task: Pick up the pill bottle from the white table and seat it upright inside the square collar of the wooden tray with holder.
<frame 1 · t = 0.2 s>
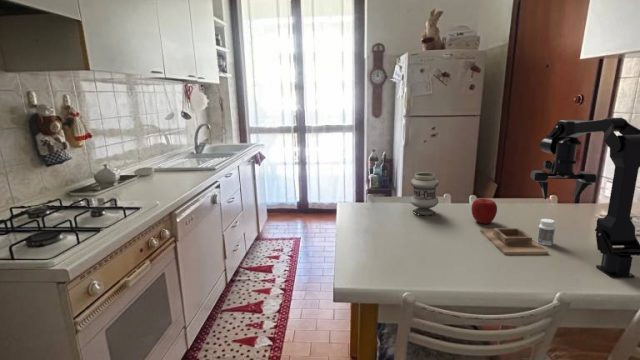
hand: (559, 199, 125), 14 cm above the table, tool pointing down, fingers open, 9 cm apart
pill bottle: (544, 243, 123), on the table
apple: (482, 222, 144), on the table
apothecary jar: (423, 213, 158), on the table
wooden tray with holder: (511, 242, 124), on the table
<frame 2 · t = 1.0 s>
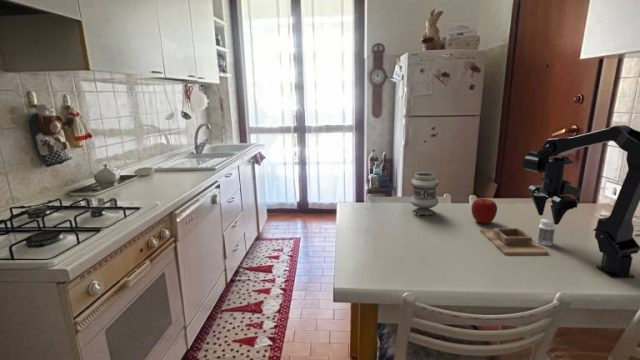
hand: (548, 219, 121), 9 cm above the table, tool pointing down, fingers open, 9 cm apart
nothing on the table moved.
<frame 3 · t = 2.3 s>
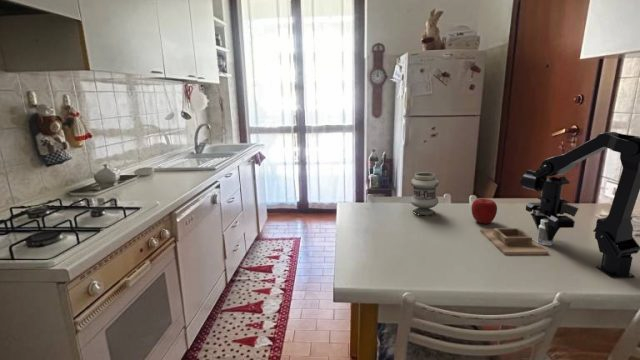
hand: (545, 237, 122), 2 cm above the table, tool pointing down, fingers closed on pill bottle, 5 cm apart
pill bottle: (544, 243, 123), on the table, touching gripper
everything else where it was.
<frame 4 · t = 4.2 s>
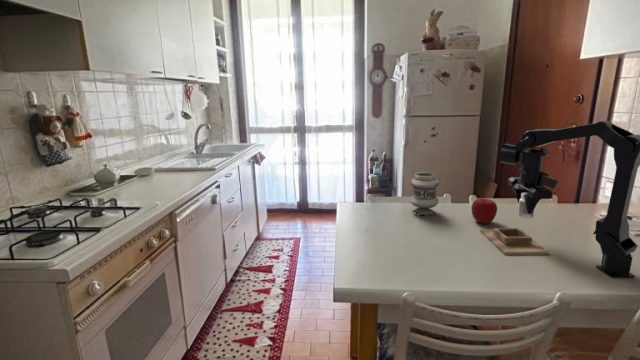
hand: (525, 211, 121), 12 cm above the table, tool pointing down, fingers closed on pill bottle, 5 cm apart
pill bottle: (525, 217, 122), point 9 cm above the table, touching gripper
everything else where it was.
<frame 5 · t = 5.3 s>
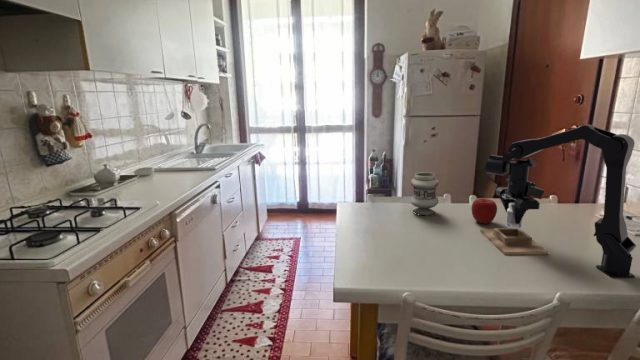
hand: (513, 221, 122), 8 cm above the table, tool pointing down, fingers closed on pill bottle, 5 cm apart
pill bottle: (513, 227, 123), point 6 cm above the table, touching gripper
everything else where it was.
when the fingers open (4 cm above the table, at t = 6.4 s): pill bottle drops 1 cm, resting on wooden tray with holder.
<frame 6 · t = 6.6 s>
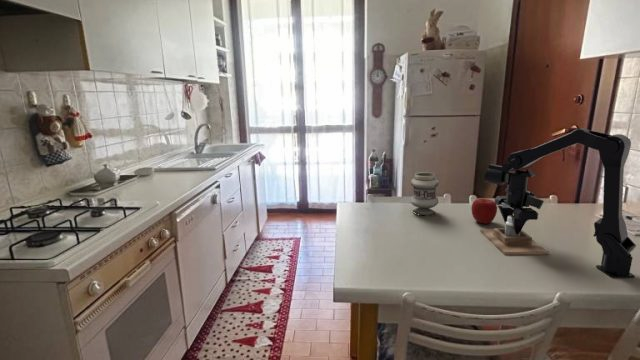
hand: (512, 230, 123), 4 cm above the table, tool pointing down, fingers open, 6 cm apart
pill bottle: (511, 240, 124), point 1 cm above the table, touching wooden tray with holder
everything else where it was.
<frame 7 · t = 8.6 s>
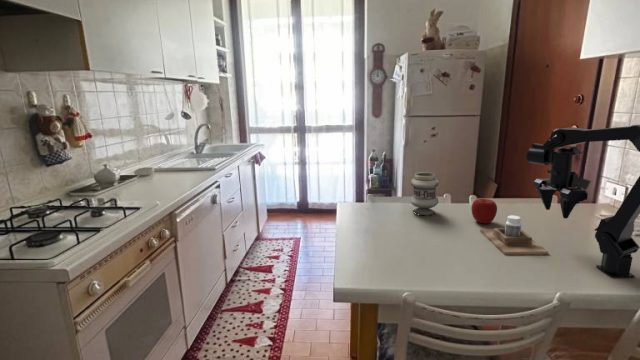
hand: (556, 213, 115), 12 cm above the table, tool pointing down, fingers open, 9 cm apart
nothing on the table moved.
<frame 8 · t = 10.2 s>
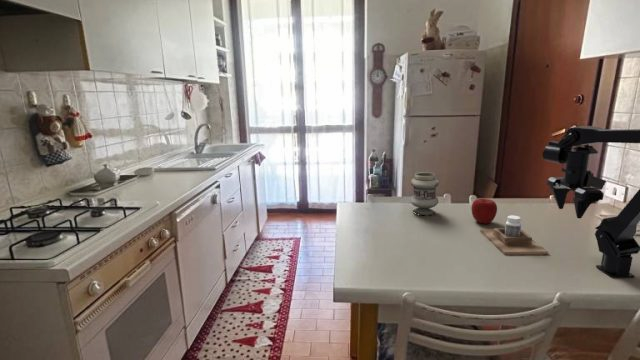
hand: (569, 213, 114), 13 cm above the table, tool pointing down, fingers open, 9 cm apart
nothing on the table moved.
at the end: pill bottle 0.1 cm off-centre on the wooden tray with holder, point 0.8 cm above the wooden tray with holder's base; pill bottle tilted 0°; the gripper is holding nothing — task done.
